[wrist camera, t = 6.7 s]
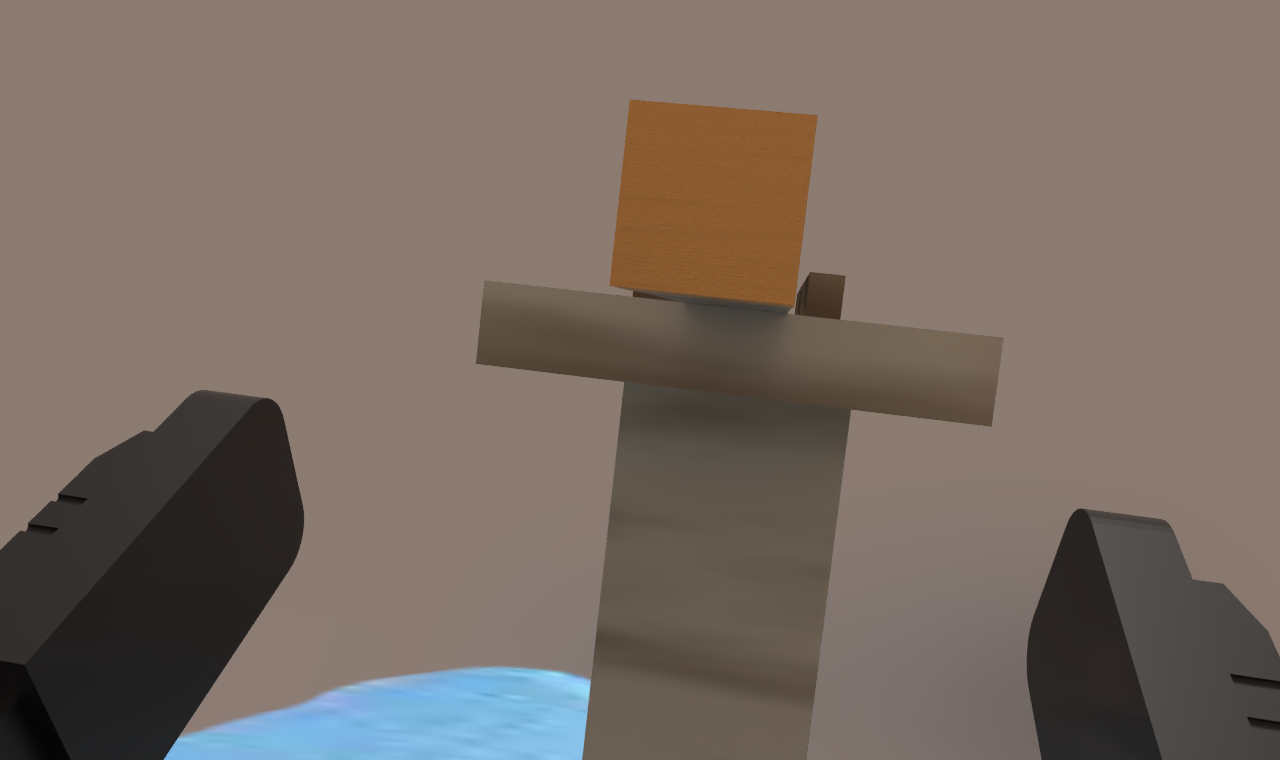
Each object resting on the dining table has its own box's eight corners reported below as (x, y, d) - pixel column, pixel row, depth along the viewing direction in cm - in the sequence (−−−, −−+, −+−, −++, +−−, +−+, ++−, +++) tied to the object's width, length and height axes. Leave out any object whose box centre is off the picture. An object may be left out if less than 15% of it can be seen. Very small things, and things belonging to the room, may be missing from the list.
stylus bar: (794, 306, 13) (817, 115, 12) (610, 285, 13) (630, 100, 13) (783, 318, 38) (791, 256, 38) (722, 312, 39) (729, 250, 38)
